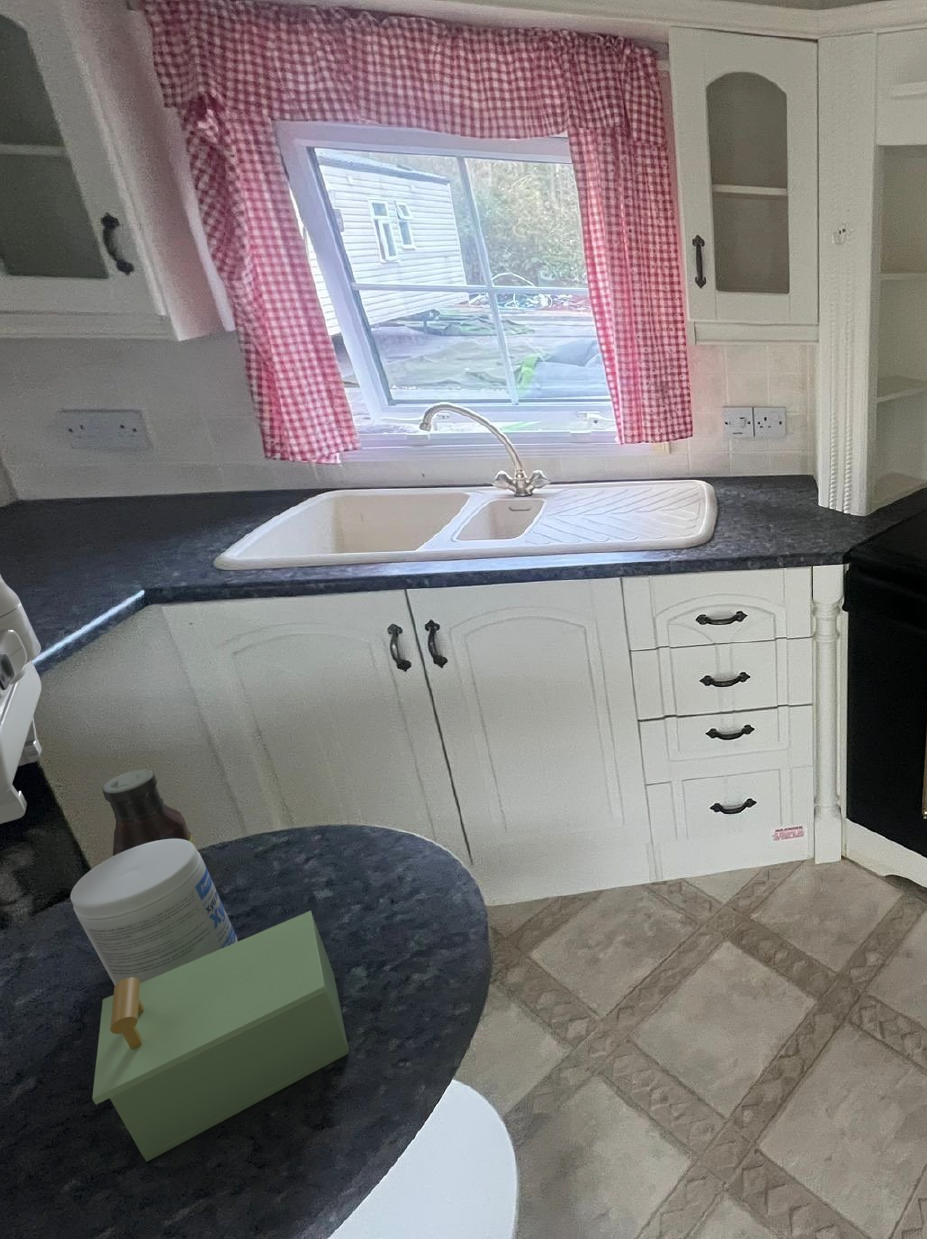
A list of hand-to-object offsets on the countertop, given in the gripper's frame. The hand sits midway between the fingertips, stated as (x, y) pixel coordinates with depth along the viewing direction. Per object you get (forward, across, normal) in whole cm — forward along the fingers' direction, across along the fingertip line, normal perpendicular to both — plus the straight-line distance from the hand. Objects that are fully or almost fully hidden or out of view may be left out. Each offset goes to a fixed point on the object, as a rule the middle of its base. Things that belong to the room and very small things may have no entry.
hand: (20, 786), depth 65 cm
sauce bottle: (+31, -15, +3) cm, 35 cm away
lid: (+22, +12, +8) cm, 26 cm away
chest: (+30, +12, +8) cm, 34 cm away
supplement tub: (+31, -5, +3) cm, 31 cm away
